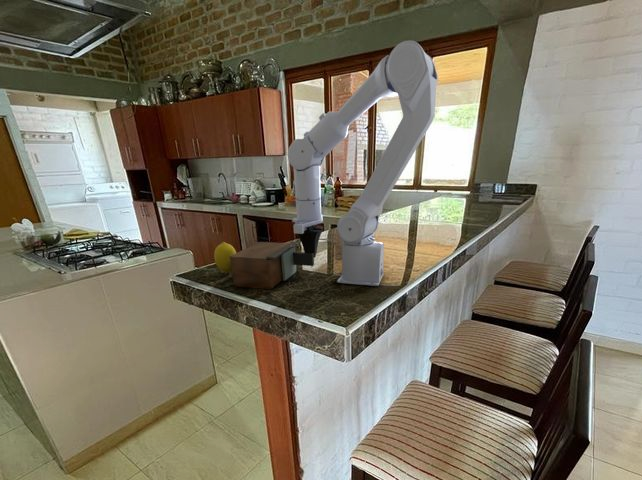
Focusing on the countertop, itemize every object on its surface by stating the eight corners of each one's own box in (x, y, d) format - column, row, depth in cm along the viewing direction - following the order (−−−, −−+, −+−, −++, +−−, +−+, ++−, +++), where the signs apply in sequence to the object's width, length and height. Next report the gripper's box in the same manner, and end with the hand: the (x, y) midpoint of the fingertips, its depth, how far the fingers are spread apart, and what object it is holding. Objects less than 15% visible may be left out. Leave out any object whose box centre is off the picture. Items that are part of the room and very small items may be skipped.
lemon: (242, 269, 88) (238, 239, 84) (235, 276, 83) (230, 244, 79) (222, 269, 88) (216, 239, 85) (213, 276, 83) (208, 244, 80)
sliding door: (315, 272, 83) (314, 247, 80) (305, 282, 77) (303, 255, 74) (294, 271, 84) (292, 246, 82) (283, 280, 78) (280, 253, 76)
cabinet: (300, 270, 86) (298, 242, 82) (277, 290, 74) (274, 257, 70) (262, 268, 89) (259, 240, 85) (234, 286, 77) (229, 254, 73)
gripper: (303, 195, 83) (305, 249, 89) (278, 203, 71) (283, 264, 77) (330, 195, 81) (331, 250, 87) (309, 203, 69) (312, 266, 75)
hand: (310, 257), depth 82 cm, fingers closed
